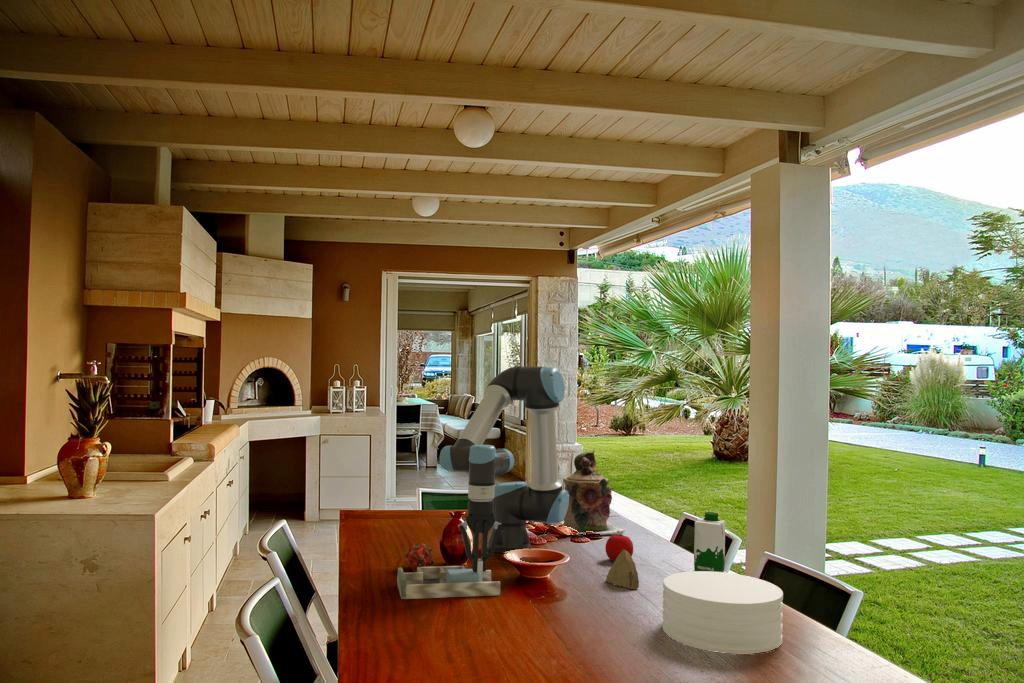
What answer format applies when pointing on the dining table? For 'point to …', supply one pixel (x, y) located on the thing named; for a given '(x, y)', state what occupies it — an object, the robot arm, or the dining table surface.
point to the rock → (623, 571)
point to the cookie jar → (588, 498)
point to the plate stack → (722, 611)
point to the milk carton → (709, 543)
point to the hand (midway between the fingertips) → (478, 583)
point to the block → (461, 576)
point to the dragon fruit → (419, 556)
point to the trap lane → (442, 584)
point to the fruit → (618, 546)
